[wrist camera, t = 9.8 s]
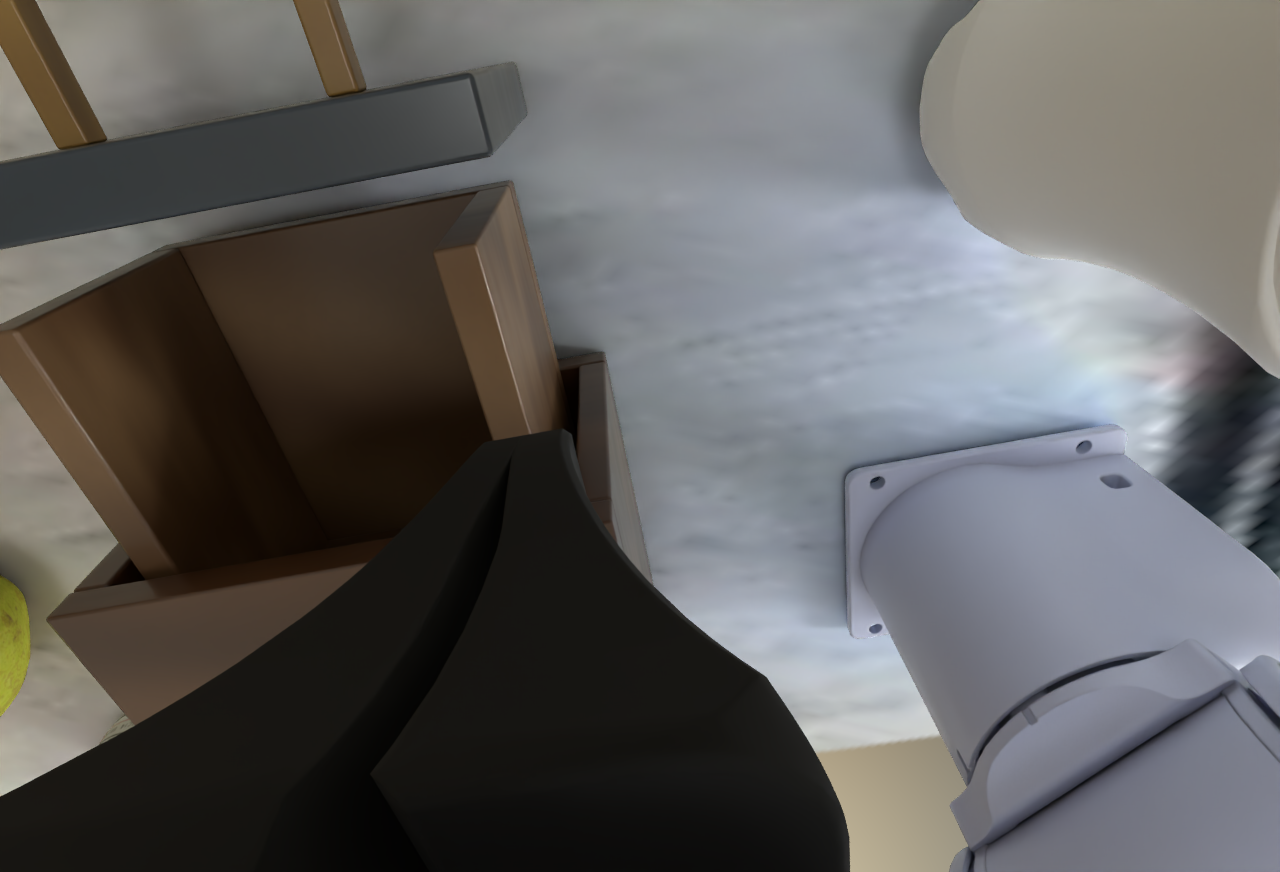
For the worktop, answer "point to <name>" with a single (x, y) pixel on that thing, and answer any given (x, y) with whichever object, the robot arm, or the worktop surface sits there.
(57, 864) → the robot arm
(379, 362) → the drawer
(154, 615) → the cabinet
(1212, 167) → the water bottle
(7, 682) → the fruit
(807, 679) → the worktop surface
